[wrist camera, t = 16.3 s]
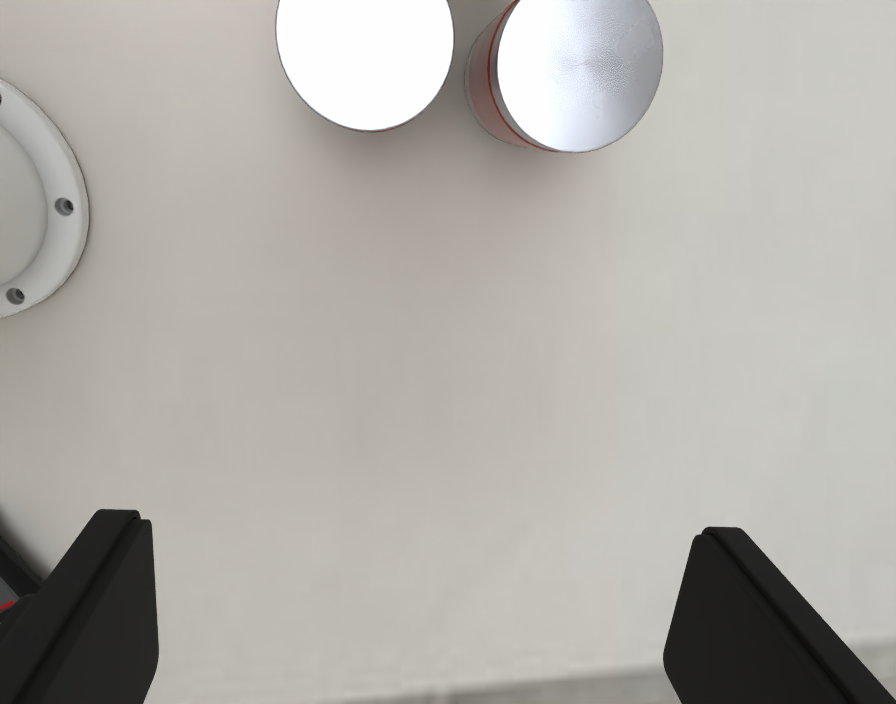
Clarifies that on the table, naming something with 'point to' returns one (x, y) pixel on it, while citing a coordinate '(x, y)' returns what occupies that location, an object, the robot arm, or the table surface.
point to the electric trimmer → (14, 579)
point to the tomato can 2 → (565, 72)
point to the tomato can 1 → (366, 57)
